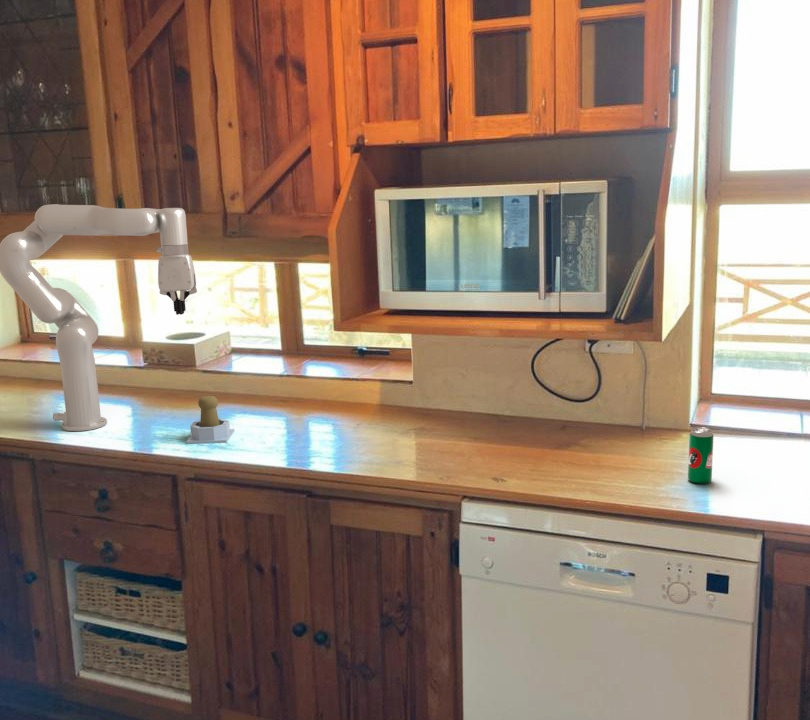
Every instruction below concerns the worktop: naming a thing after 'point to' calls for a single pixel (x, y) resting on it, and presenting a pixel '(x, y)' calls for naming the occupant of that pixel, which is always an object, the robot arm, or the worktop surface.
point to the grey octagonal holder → (210, 433)
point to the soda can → (700, 455)
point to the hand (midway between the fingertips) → (180, 313)
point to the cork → (208, 411)
